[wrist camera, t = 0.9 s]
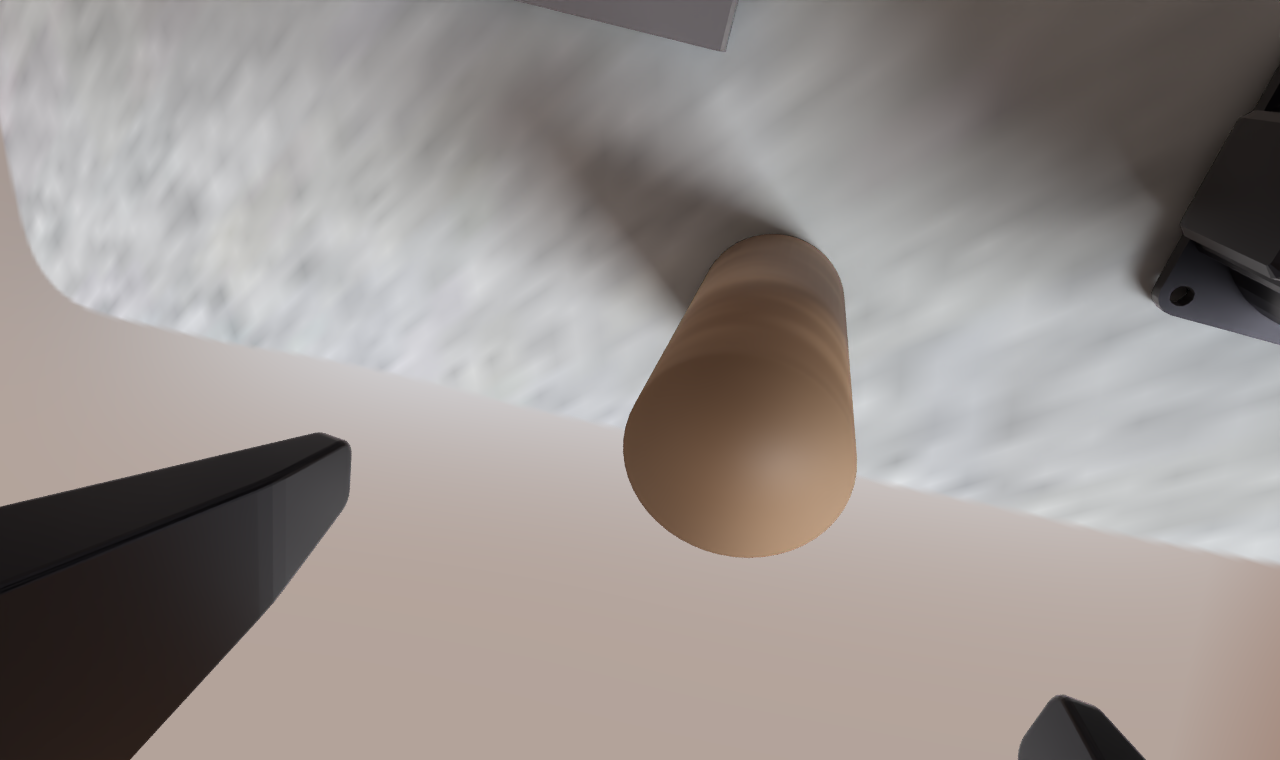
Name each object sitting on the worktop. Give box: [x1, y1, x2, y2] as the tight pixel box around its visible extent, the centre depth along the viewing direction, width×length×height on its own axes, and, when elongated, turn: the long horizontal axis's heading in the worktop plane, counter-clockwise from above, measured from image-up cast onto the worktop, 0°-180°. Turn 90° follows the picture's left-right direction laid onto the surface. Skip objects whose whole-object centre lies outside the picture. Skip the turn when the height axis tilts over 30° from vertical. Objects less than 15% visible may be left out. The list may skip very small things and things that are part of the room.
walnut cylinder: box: [623, 234, 857, 558], centre depth 16 cm, size 4×4×9 cm
